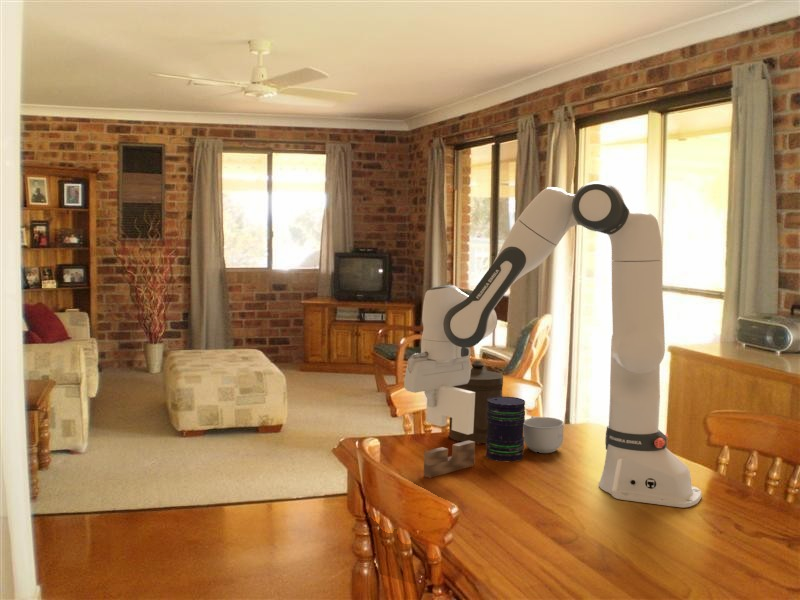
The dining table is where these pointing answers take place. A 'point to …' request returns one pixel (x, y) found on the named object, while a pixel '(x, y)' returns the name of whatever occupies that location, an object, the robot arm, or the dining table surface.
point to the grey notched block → (449, 459)
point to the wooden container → (479, 401)
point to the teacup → (543, 434)
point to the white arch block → (453, 409)
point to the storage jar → (505, 428)
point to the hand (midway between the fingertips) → (436, 405)
